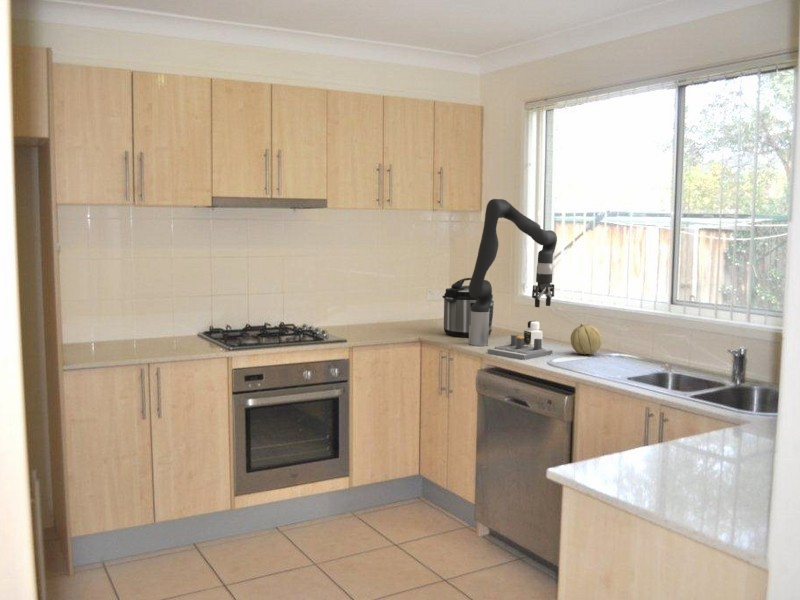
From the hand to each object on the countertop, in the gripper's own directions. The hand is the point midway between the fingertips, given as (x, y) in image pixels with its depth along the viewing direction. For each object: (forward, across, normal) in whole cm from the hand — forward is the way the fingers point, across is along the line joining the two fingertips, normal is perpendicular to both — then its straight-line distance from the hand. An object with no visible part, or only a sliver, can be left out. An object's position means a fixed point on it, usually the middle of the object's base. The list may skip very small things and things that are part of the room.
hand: (542, 306), depth 359 cm
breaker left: (+21, +2, -14) cm, 26 cm away
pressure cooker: (+25, -19, -63) cm, 71 cm away
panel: (+23, +6, -7) cm, 25 cm away
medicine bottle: (+24, -23, -21) cm, 39 cm away
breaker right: (+21, +2, 0) cm, 21 cm away
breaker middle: (+21, +6, -7) cm, 23 cm away
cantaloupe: (+23, -18, +14) cm, 32 cm away
